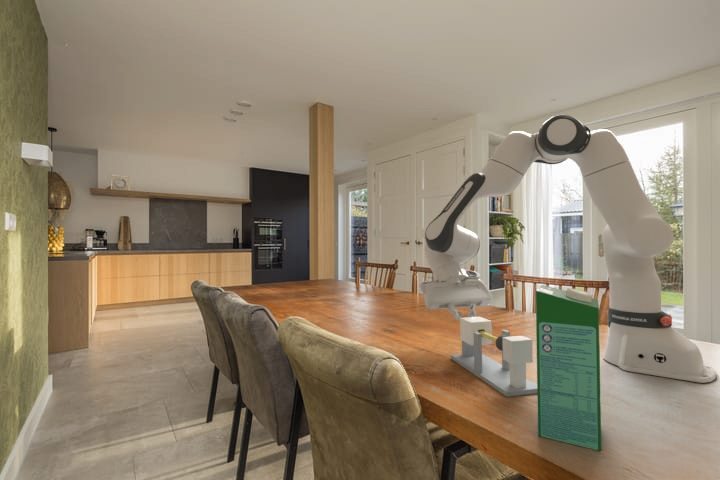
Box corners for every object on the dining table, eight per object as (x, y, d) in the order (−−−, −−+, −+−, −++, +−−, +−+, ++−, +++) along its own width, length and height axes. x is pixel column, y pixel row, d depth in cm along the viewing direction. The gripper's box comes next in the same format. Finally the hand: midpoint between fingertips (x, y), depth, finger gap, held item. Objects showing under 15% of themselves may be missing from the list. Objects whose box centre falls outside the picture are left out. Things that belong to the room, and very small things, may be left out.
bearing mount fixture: (451, 358, 103) (450, 317, 103) (479, 355, 105) (479, 315, 105) (506, 396, 78) (505, 343, 78) (543, 392, 80) (542, 339, 80)
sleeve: (460, 339, 101) (459, 317, 101) (480, 337, 102) (479, 316, 102) (471, 345, 95) (471, 322, 95) (492, 343, 96) (491, 321, 96)
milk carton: (601, 451, 58) (598, 293, 58) (537, 436, 62) (535, 289, 62) (599, 426, 65) (597, 286, 65) (543, 414, 70) (541, 284, 70)
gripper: (421, 274, 109) (435, 314, 99) (483, 272, 113) (502, 309, 104) (415, 288, 113) (429, 326, 104) (476, 285, 118) (494, 322, 108)
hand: (466, 318), depth 104 cm, fingers open, 3 cm apart
